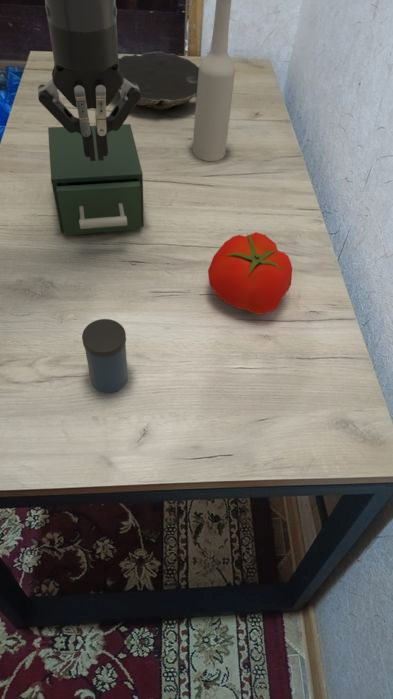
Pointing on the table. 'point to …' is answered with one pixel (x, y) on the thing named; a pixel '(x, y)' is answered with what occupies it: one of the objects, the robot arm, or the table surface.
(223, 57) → the bottle
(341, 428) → the table surface
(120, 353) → the plastic container
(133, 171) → the cabinet
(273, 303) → the tomato
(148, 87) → the rough clay dish
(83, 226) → the drawer
